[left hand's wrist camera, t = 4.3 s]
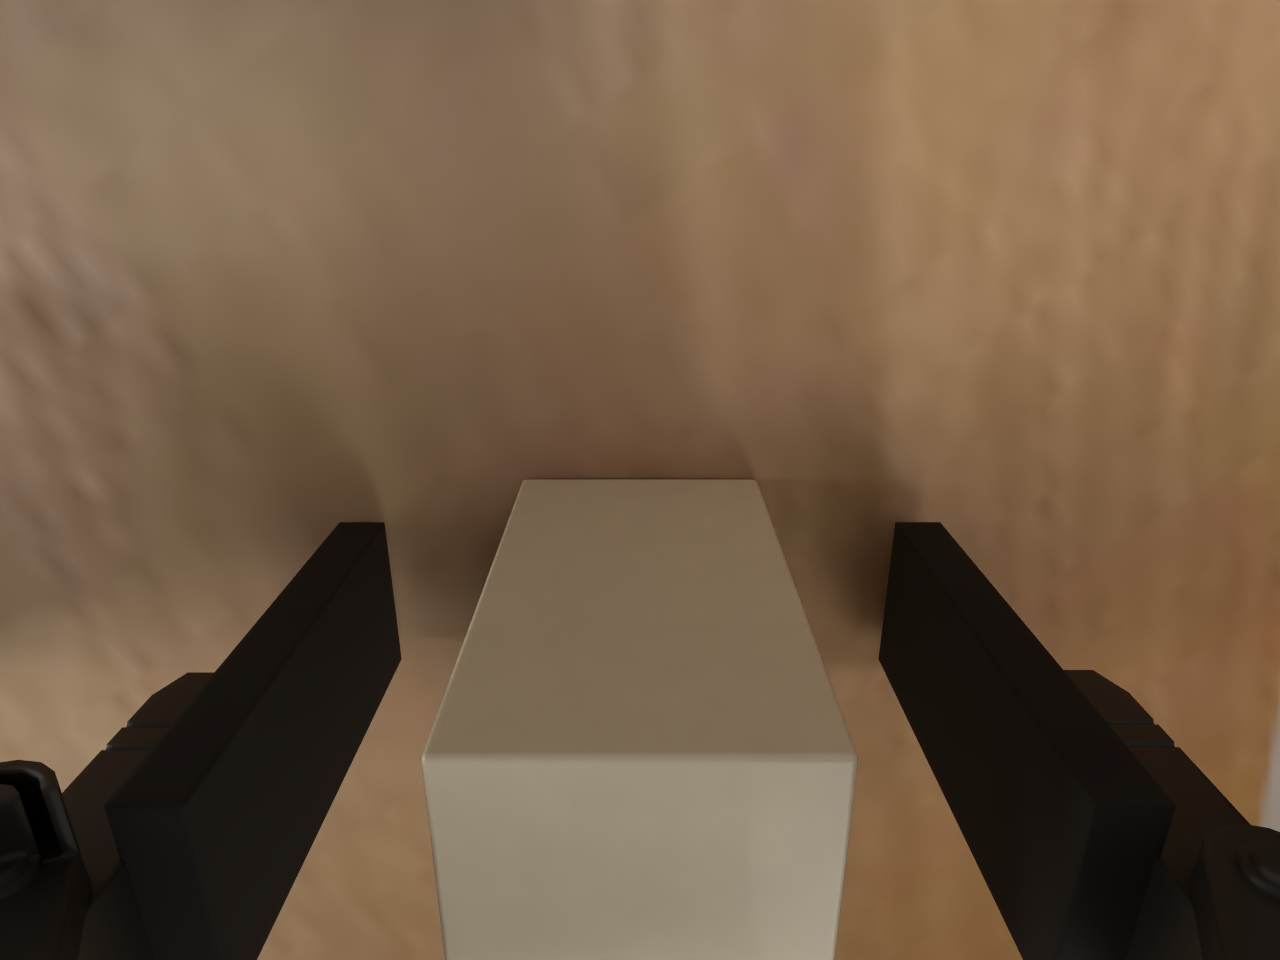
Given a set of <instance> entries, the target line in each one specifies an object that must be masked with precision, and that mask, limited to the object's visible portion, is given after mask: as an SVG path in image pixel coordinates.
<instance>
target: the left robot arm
mask: <svg viewBox="0 0 1280 960" xmlns="http://www.w3.org/2000/svg"><path fill="white" fill-rule="evenodd" d="M400 661H401V652H400V644H399V636H398V628H397V620H396V612H395V604H394V596H393V587H392V579H391V571H390V563H389V555H388V547H387V539H386V531H385V523H384V522H340V523H339V524H338V525H337V527H336V528H335V529H334V530H333V531H332V533H331V534H330V535H329V536H328V537H327V539H326V540H325V541H324V542H323V543H322V545H321V546H320V547H319V548H318V549H317V550H316V552H315V553H314V554H313V555H312V556H311V558H310V559H309V560H308V561H307V562H306V564H305V565H304V566H303V567H302V568H301V570H300V571H299V572H298V573H297V574H296V576H295V577H294V578H293V579H292V580H291V582H290V583H289V584H288V585H287V586H286V588H285V589H284V590H283V591H282V592H281V594H280V595H279V596H278V597H277V598H276V600H275V601H274V602H273V603H272V604H271V606H270V607H269V608H268V609H267V610H266V612H265V613H264V614H263V615H262V616H261V618H260V619H259V620H258V621H257V622H256V624H255V625H254V626H253V627H252V628H251V630H250V631H249V632H248V633H247V634H246V636H245V637H244V638H243V639H242V640H241V642H240V643H239V644H238V645H237V646H236V648H235V649H234V650H233V651H232V652H231V654H230V655H229V656H228V657H227V658H226V660H225V661H224V662H223V663H222V664H221V666H220V667H219V668H218V669H217V670H216V672H215V673H186V674H185V675H183V676H182V677H180V678H179V679H177V680H175V681H174V682H172V683H171V684H169V685H167V686H166V687H164V688H163V689H161V690H160V691H158V692H156V693H155V694H153V695H152V696H151V697H150V698H149V699H148V700H147V701H146V702H145V703H144V704H143V706H142V707H141V708H140V709H139V710H138V711H137V712H136V713H135V714H134V715H133V716H132V718H131V719H130V720H129V721H128V722H127V727H126V728H121V730H120V731H119V732H118V733H117V734H116V735H115V736H114V737H113V738H112V739H111V740H110V742H109V743H108V744H107V749H106V750H101V751H100V752H99V754H98V755H97V756H96V757H95V758H94V759H93V760H92V761H91V762H90V763H89V764H88V766H87V767H86V768H85V769H84V770H83V771H82V772H81V773H80V774H79V775H78V777H77V778H76V779H75V780H74V781H73V782H72V783H71V784H70V785H69V786H68V787H67V789H66V790H65V791H64V792H63V793H61V790H60V787H59V784H58V780H57V777H56V774H55V771H53V770H52V769H50V768H49V767H47V766H46V765H44V764H43V763H41V762H33V761H23V760H14V761H8V762H1V763H0V960H257V958H258V956H259V954H260V952H261V950H262V948H263V946H264V944H265V942H266V940H267V937H268V935H269V933H270V931H271V929H272V927H273V925H274V923H275V921H276V919H277V917H278V915H279V913H280V910H281V908H282V906H283V904H284V902H285V900H286V898H287V896H288V894H289V892H290V890H291V888H292V885H293V883H294V881H295V879H296V877H297V875H298V873H299V871H300V869H301V867H302V865H303V863H304V861H305V858H306V856H307V854H308V852H309V850H310V848H311V846H312V844H313V842H314V840H315V838H316V836H317V833H318V831H319V829H320V827H321V825H322V823H323V821H324V819H325V817H326V815H327V813H328V811H329V809H330V806H331V804H332V802H333V800H334V798H335V796H336V794H337V792H338V790H339V788H340V786H341V784H342V781H343V779H344V777H345V775H346V773H347V771H348V769H349V767H350V765H351V763H352V761H353V759H354V757H355V754H356V752H357V750H358V748H359V746H360V744H361V742H362V740H363V738H364V736H365V734H366V732H367V729H368V727H369V725H370V723H371V721H372V719H373V717H374V715H375V713H376V711H377V709H378V707H379V705H380V702H381V700H382V698H383V696H384V694H385V692H386V690H387V688H388V686H389V684H390V682H391V680H392V677H393V675H394V673H395V671H396V669H397V667H398V665H399V663H400ZM879 661H880V663H881V665H882V667H883V669H884V671H885V673H886V675H887V678H888V680H889V682H890V684H891V686H892V688H893V690H894V692H895V694H896V696H897V698H898V700H899V702H900V705H901V707H902V709H903V711H904V713H905V715H906V717H907V719H908V721H909V723H910V725H911V727H912V730H913V732H914V734H915V736H916V738H917V740H918V742H919V744H920V746H921V748H922V750H923V752H924V754H925V757H926V759H927V761H928V763H929V765H930V767H931V769H932V771H933V773H934V775H935V777H936V779H937V782H938V784H939V786H940V788H941V790H942V792H943V794H944V796H945V798H946V800H947V802H948V804H949V806H950V809H951V811H952V813H953V815H954V817H955V819H956V821H957V823H958V825H959V827H960V829H961V831H962V834H963V836H964V838H965V840H966V842H967V844H968V846H969V848H970V850H971V852H972V854H973V856H974V858H975V861H976V863H977V865H978V867H979V869H980V871H981V873H982V875H983V877H984V879H985V881H986V883H987V886H988V888H989V890H990V892H991V894H992V896H993V898H994V900H995V902H996V904H997V906H998V908H999V910H1000V913H1001V915H1002V917H1003V919H1004V921H1005V923H1006V925H1007V927H1008V929H1009V931H1010V933H1011V935H1012V937H1013V940H1014V942H1015V944H1016V946H1017V948H1018V950H1019V952H1020V954H1021V956H1022V958H1023V960H1280V832H1278V831H1275V830H1272V829H1270V828H1265V827H1259V826H1252V825H1250V824H1249V823H1248V821H1247V820H1246V819H1245V818H1244V817H1243V816H1242V815H1241V814H1240V813H1239V812H1238V811H1237V809H1236V808H1235V807H1234V806H1233V805H1232V804H1231V803H1230V802H1229V801H1228V800H1227V799H1226V798H1225V796H1224V795H1223V794H1222V793H1221V792H1220V791H1219V790H1218V789H1217V788H1216V787H1215V786H1214V785H1213V783H1212V782H1211V781H1210V780H1209V779H1208V778H1207V777H1206V776H1205V775H1204V774H1203V773H1202V772H1201V770H1200V769H1199V768H1198V767H1197V766H1196V765H1195V764H1194V763H1193V762H1192V761H1191V760H1190V759H1189V757H1188V756H1187V755H1186V754H1185V753H1184V752H1183V751H1182V750H1181V749H1180V748H1179V747H1175V746H1174V741H1173V740H1172V739H1171V738H1170V737H1169V736H1168V735H1167V734H1166V733H1165V731H1164V730H1163V729H1162V728H1161V727H1160V726H1159V725H1154V722H1153V718H1152V717H1151V716H1150V715H1149V714H1148V713H1147V712H1146V711H1145V710H1144V709H1143V708H1142V706H1141V705H1140V704H1139V703H1138V702H1137V701H1136V700H1135V699H1134V698H1133V697H1132V696H1131V695H1130V693H1128V692H1127V691H1125V690H1124V689H1122V688H1120V687H1119V686H1117V685H1116V684H1114V683H1113V682H1111V681H1109V680H1108V679H1106V678H1105V677H1103V676H1101V675H1100V674H1098V673H1097V672H1095V671H1094V670H1063V669H1062V668H1061V667H1060V666H1059V664H1058V663H1057V662H1056V661H1055V660H1054V658H1053V657H1052V656H1051V655H1050V654H1049V652H1048V651H1047V650H1046V649H1045V648H1044V646H1043V645H1042V644H1041V643H1040V642H1039V640H1038V639H1037V638H1036V637H1035V636H1034V634H1033V633H1032V632H1031V631H1030V630H1029V628H1028V627H1027V626H1026V625H1025V624H1024V622H1023V621H1022V620H1021V619H1020V618H1019V616H1018V615H1017V614H1016V613H1015V612H1014V610H1013V609H1012V608H1011V607H1010V606H1009V604H1008V603H1007V602H1006V601H1005V600H1004V598H1003V597H1002V596H1001V595H1000V594H999V592H998V591H997V590H996V589H995V588H994V586H993V585H992V584H991V583H990V582H989V580H988V579H987V578H986V577H985V576H984V574H983V573H982V572H981V571H980V570H979V568H978V567H977V566H976V565H975V564H974V562H973V561H972V560H971V559H970V558H969V557H968V555H967V554H966V553H965V552H964V551H963V549H962V548H961V547H960V546H959V545H958V543H957V542H956V541H955V540H954V539H953V537H952V536H951V535H950V534H949V533H948V531H947V530H946V529H945V528H944V527H943V525H942V524H941V523H940V522H896V523H895V531H894V539H893V547H892V555H891V563H890V571H889V579H888V587H887V595H886V603H885V612H884V620H883V628H882V636H881V644H880V652H879Z"/></svg>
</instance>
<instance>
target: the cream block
mask: <svg viewBox="0 0 1280 960" xmlns="http://www.w3.org/2000/svg"><path fill="white" fill-rule="evenodd" d="M421 762H422V771H423V779H424V787H425V796H426V804H427V812H428V821H429V829H430V837H431V846H432V854H433V862H434V870H435V879H436V887H437V895H438V904H439V912H440V920H441V929H442V937H443V945H444V954H445V960H834V957H835V949H836V941H837V932H838V924H839V916H840V907H841V899H842V891H843V882H844V874H845V866H846V857H847V849H848V841H849V832H850V824H851V815H852V807H853V799H854V790H855V782H856V774H857V765H858V755H857V753H856V750H855V747H854V745H853V742H852V739H851V736H850V734H849V731H848V728H847V725H846V723H845V720H844V717H843V715H842V712H841V709H840V706H839V704H838V701H837V698H836V696H835V693H834V690H833V687H832V685H831V682H830V679H829V677H828V674H827V671H826V668H825V666H824V663H823V660H822V657H821V655H820V652H819V649H818V647H817V644H816V641H815V638H814V636H813V633H812V630H811V628H810V625H809V622H808V619H807V617H806V614H805V611H804V608H803V606H802V603H801V600H800V598H799V595H798V592H797V589H796V587H795V584H794V581H793V579H792V576H791V573H790V570H789V568H788V565H787V562H786V560H785V557H784V554H783V551H782V549H781V546H780V543H779V540H778V538H777V535H776V532H775V530H774V527H773V524H772V521H771V519H770V516H769V513H768V511H767V508H766V505H765V502H764V500H763V497H762V494H761V491H760V489H759V486H758V483H757V481H756V480H754V479H641V480H523V482H522V485H521V487H520V490H519V493H518V495H517V498H516V501H515V504H514V506H513V509H512V512H511V514H510V517H509V520H508V523H507V525H506V528H505V531H504V533H503V536H502V539H501V542H500V544H499V547H498V550H497V553H496V555H495V558H494V561H493V563H492V566H491V569H490V572H489V574H488V577H487V580H486V582H485V585H484V588H483V591H482V593H481V596H480V599H479V601H478V604H477V607H476V610H475V612H474V615H473V618H472V621H471V623H470V626H469V629H468V631H467V634H466V637H465V640H464V642H463V645H462V648H461V650H460V653H459V656H458V659H457V661H456V664H455V667H454V670H453V672H452V675H451V678H450V680H449V683H448V686H447V689H446V691H445V694H444V697H443V699H442V702H441V705H440V708H439V710H438V713H437V716H436V718H435V721H434V724H433V727H432V729H431V732H430V735H429V738H428V740H427V743H426V746H425V748H424V751H423V754H422V757H421Z"/></svg>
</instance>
